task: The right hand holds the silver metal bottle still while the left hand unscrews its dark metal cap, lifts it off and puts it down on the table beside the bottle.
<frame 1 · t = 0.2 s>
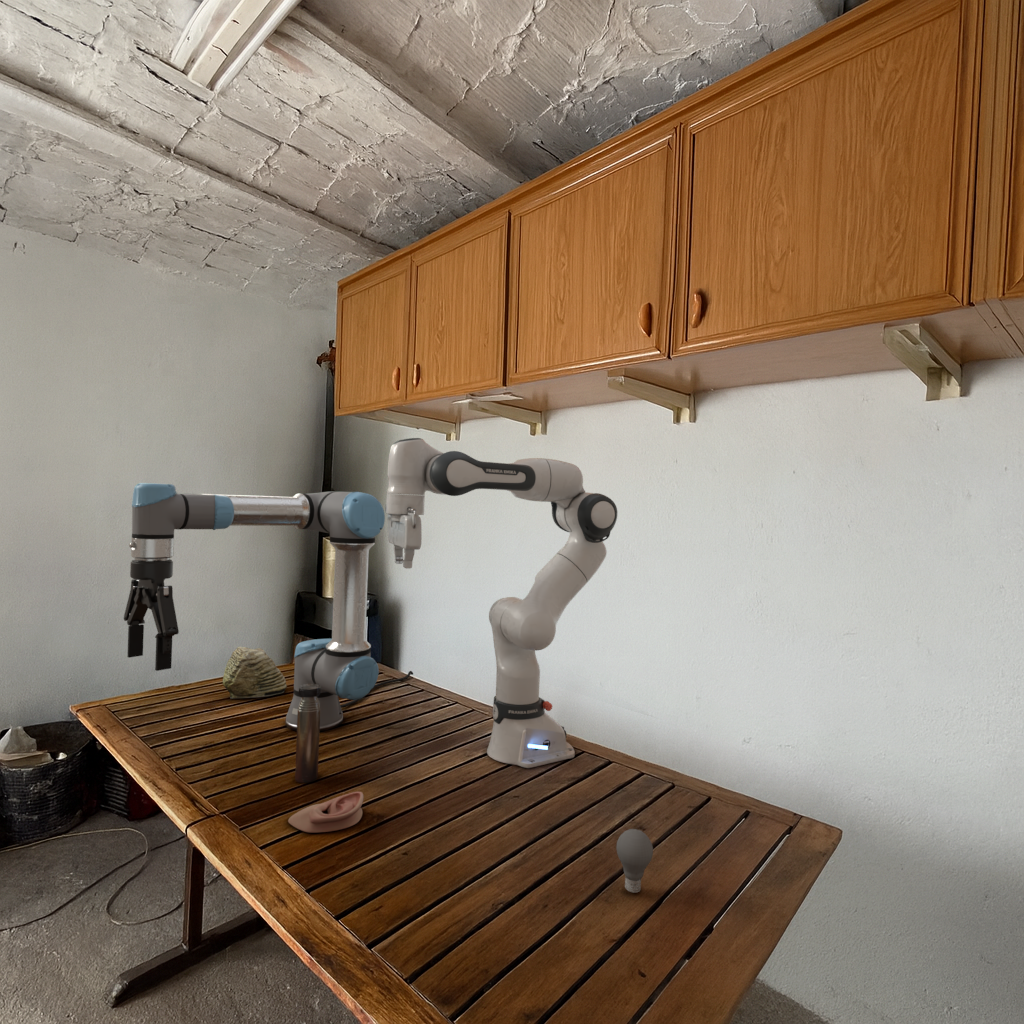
left hand: (148, 662, 129), 28 cm above the table, tool pointing down, fingers open, 13 cm apart
right hand: (403, 565, 149), 48 cm above the table, tool pointing down, fingers open, 8 cm apart
anatomical model: (326, 819, 125), on the table
bottle: (306, 778, 142), on the table
cap: (309, 687, 142), point 20 cm above the table, screwed on, not yet turned
fossil: (254, 694, 198), on the table
light bulb: (632, 891, 106), on the table
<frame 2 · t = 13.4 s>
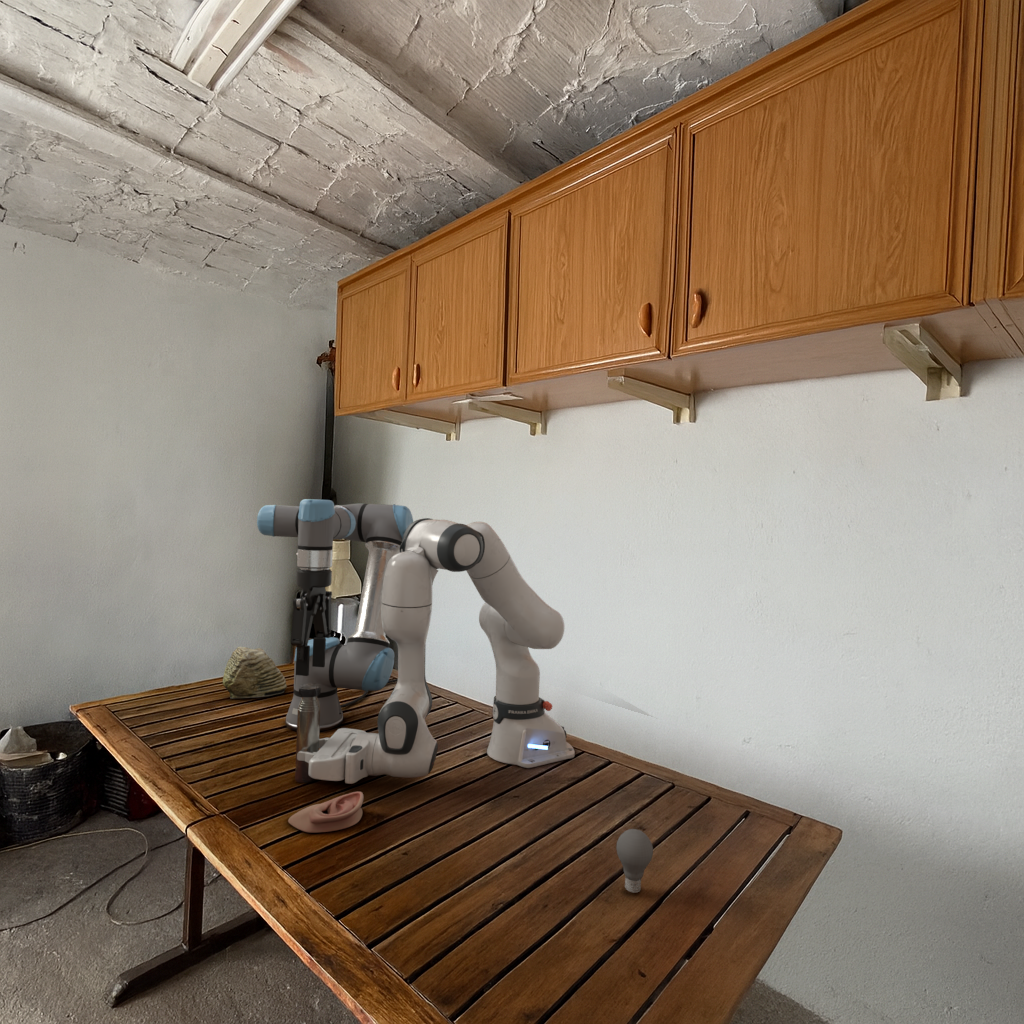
left hand: (310, 670, 142), 24 cm above the table, tool pointing down, fingers open, 7 cm apart
right hand: (303, 749, 142), 6 cm above the table, tool horizontal, fingers closed on bottle, 5 cm apart
bottle: (306, 778, 142), on the table, touching right hand
everything else where it was.
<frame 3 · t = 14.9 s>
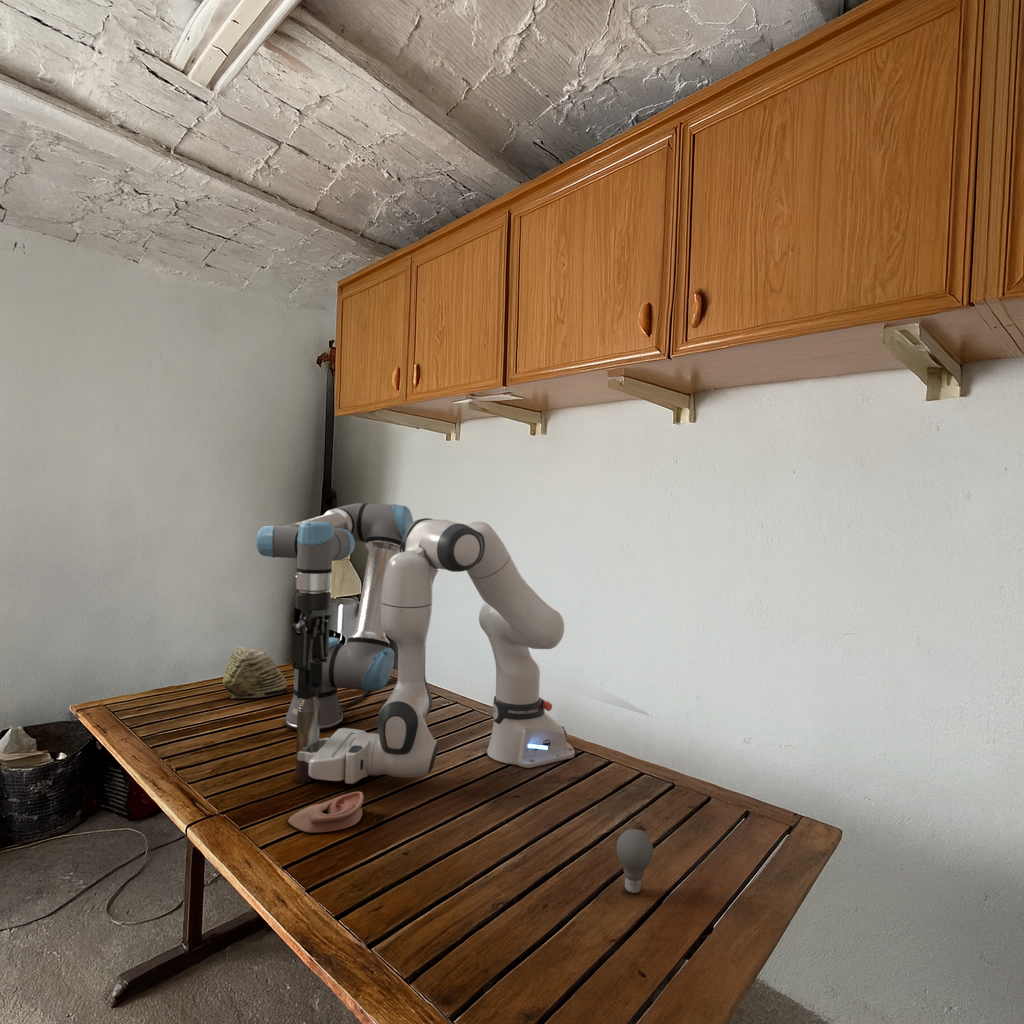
left hand: (309, 694, 142), 19 cm above the table, tool pointing down, fingers closed on cap, 4 cm apart
right hand: (303, 749, 142), 6 cm above the table, tool horizontal, fingers closed on bottle, 5 cm apart
bottle: (306, 778, 142), on the table, touching right hand
cap: (309, 687, 142), point 20 cm above the table, screwed on, not yet turned, touching left hand
everything else where it was.
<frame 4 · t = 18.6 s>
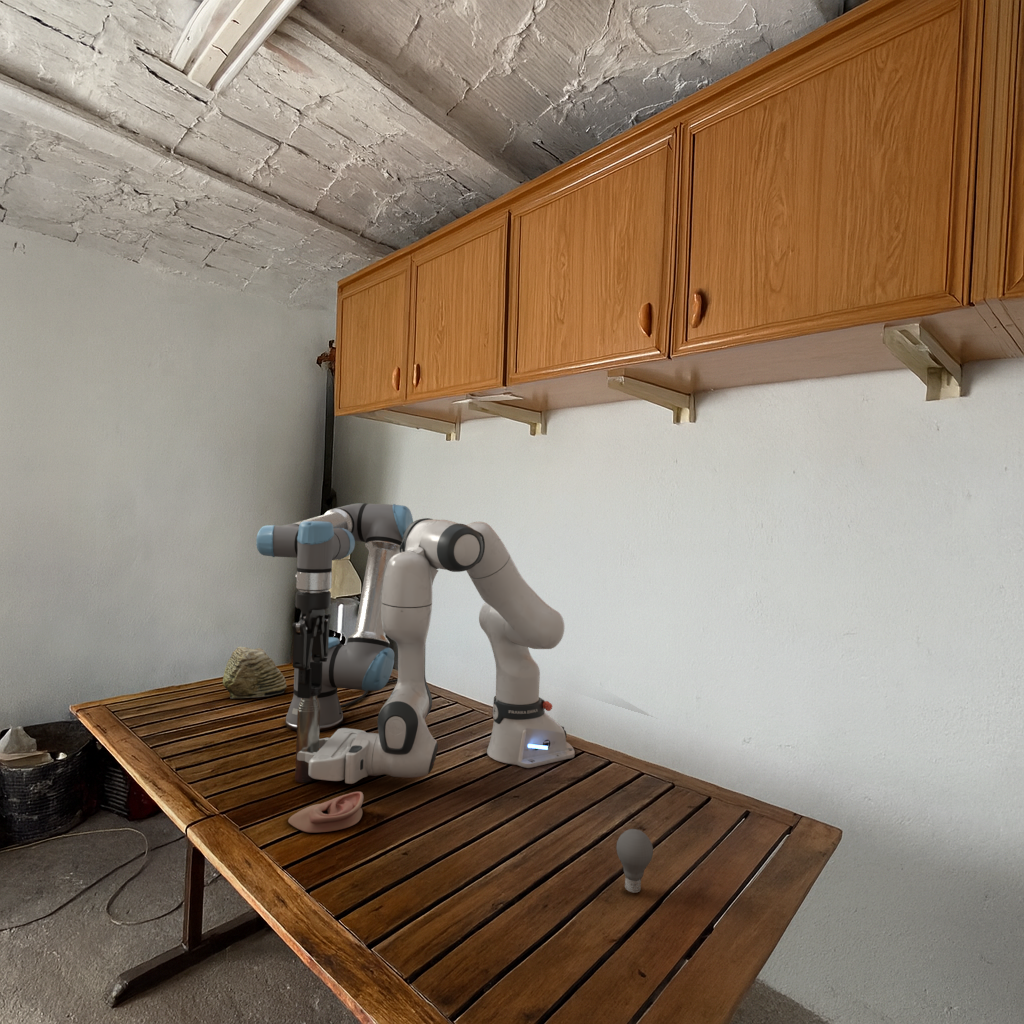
left hand: (309, 693, 142), 19 cm above the table, tool pointing down, fingers closed on cap, 4 cm apart
right hand: (303, 749, 142), 6 cm above the table, tool horizontal, fingers closed on bottle, 5 cm apart
bottle: (306, 778, 142), on the table, touching right hand
cap: (309, 687, 142), point 21 cm above the table, turned 109° so far, risen 0.1 cm, still on its thread, touching left hand
everything else where it was.
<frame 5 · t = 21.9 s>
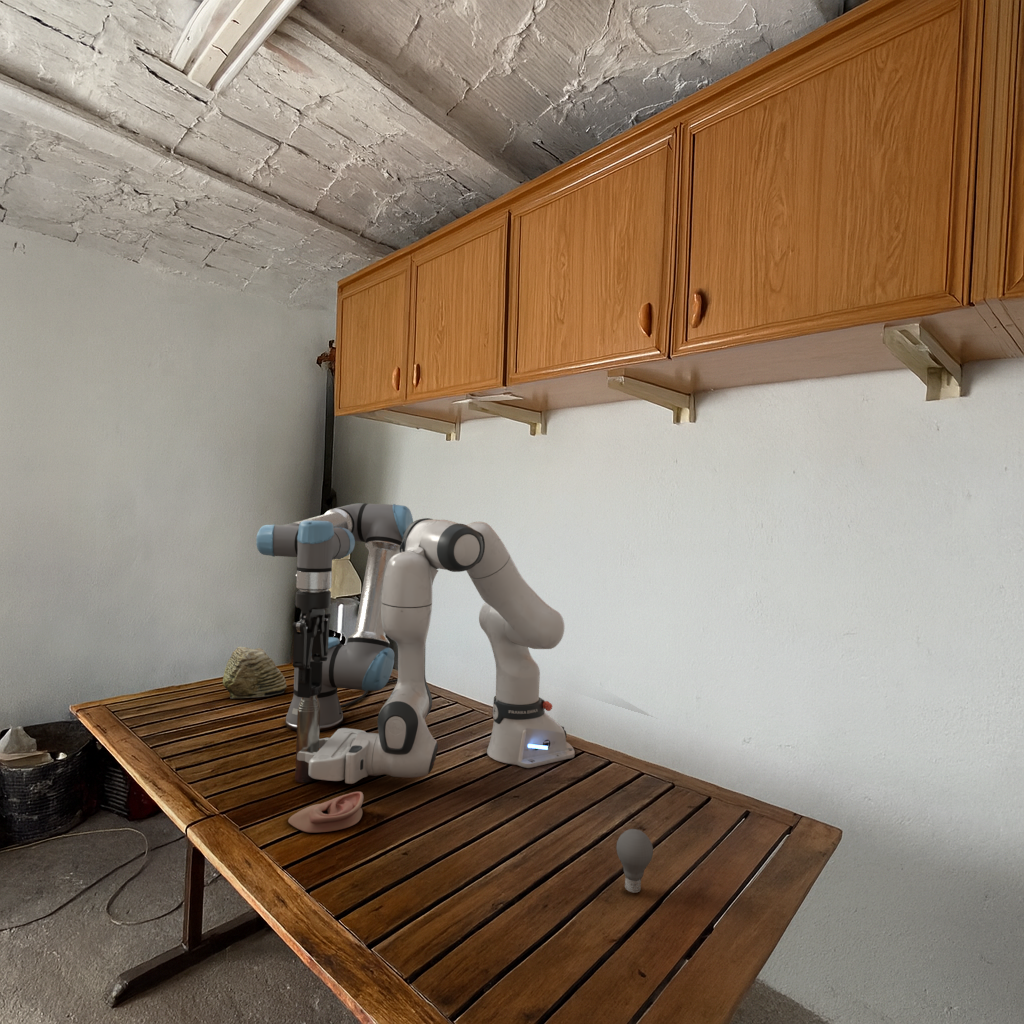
left hand: (309, 693, 142), 19 cm above the table, tool pointing down, fingers closed on cap, 4 cm apart
right hand: (303, 749, 142), 6 cm above the table, tool horizontal, fingers closed on bottle, 5 cm apart
bottle: (306, 778, 142), on the table, touching right hand
cap: (309, 686, 142), point 21 cm above the table, turned 218° so far, risen 0.3 cm, still on its thread, touching left hand
everything else where it was.
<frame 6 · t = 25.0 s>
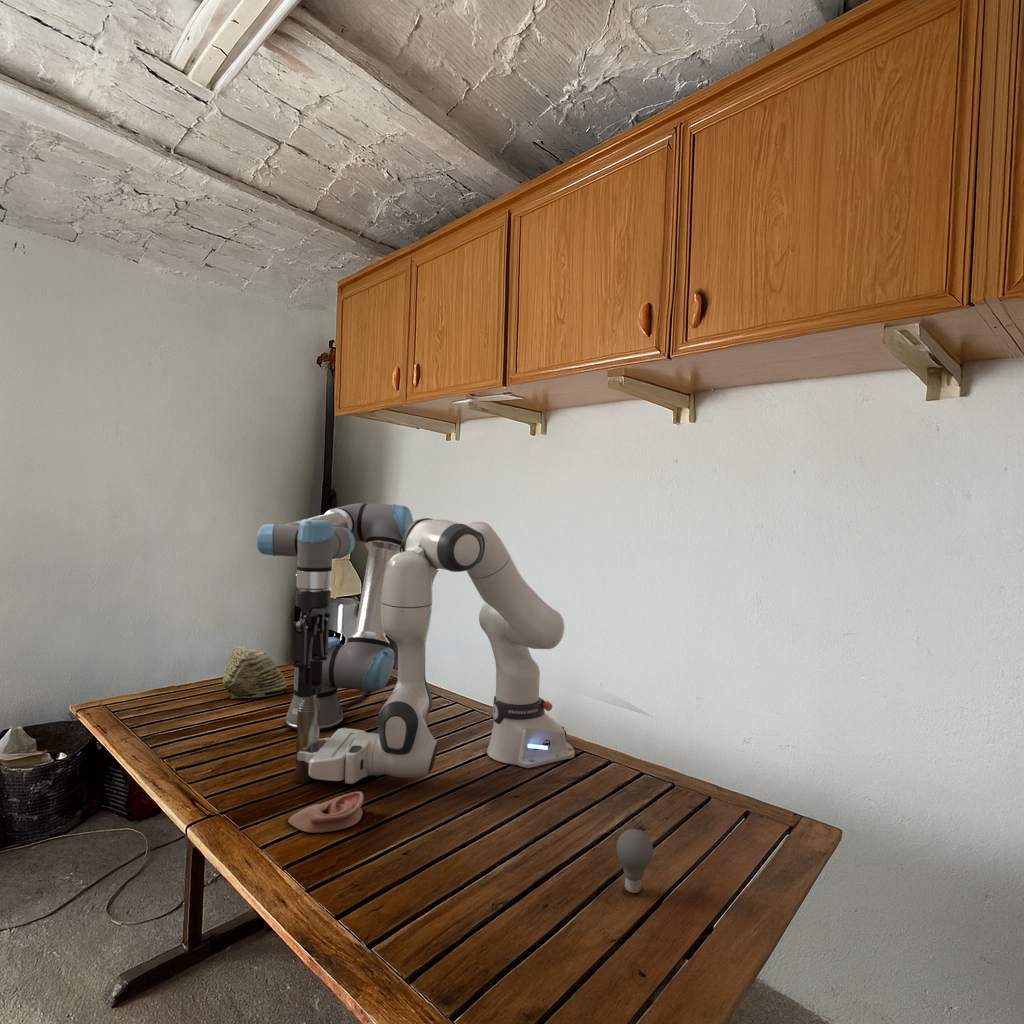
left hand: (309, 692, 142), 19 cm above the table, tool pointing down, fingers closed on cap, 4 cm apart
right hand: (303, 749, 142), 6 cm above the table, tool horizontal, fingers closed on bottle, 5 cm apart
bottle: (306, 778, 142), on the table, touching right hand
cap: (309, 686, 142), point 21 cm above the table, turned 327° so far, risen 0.4 cm, still on its thread, touching left hand
everything else where it was.
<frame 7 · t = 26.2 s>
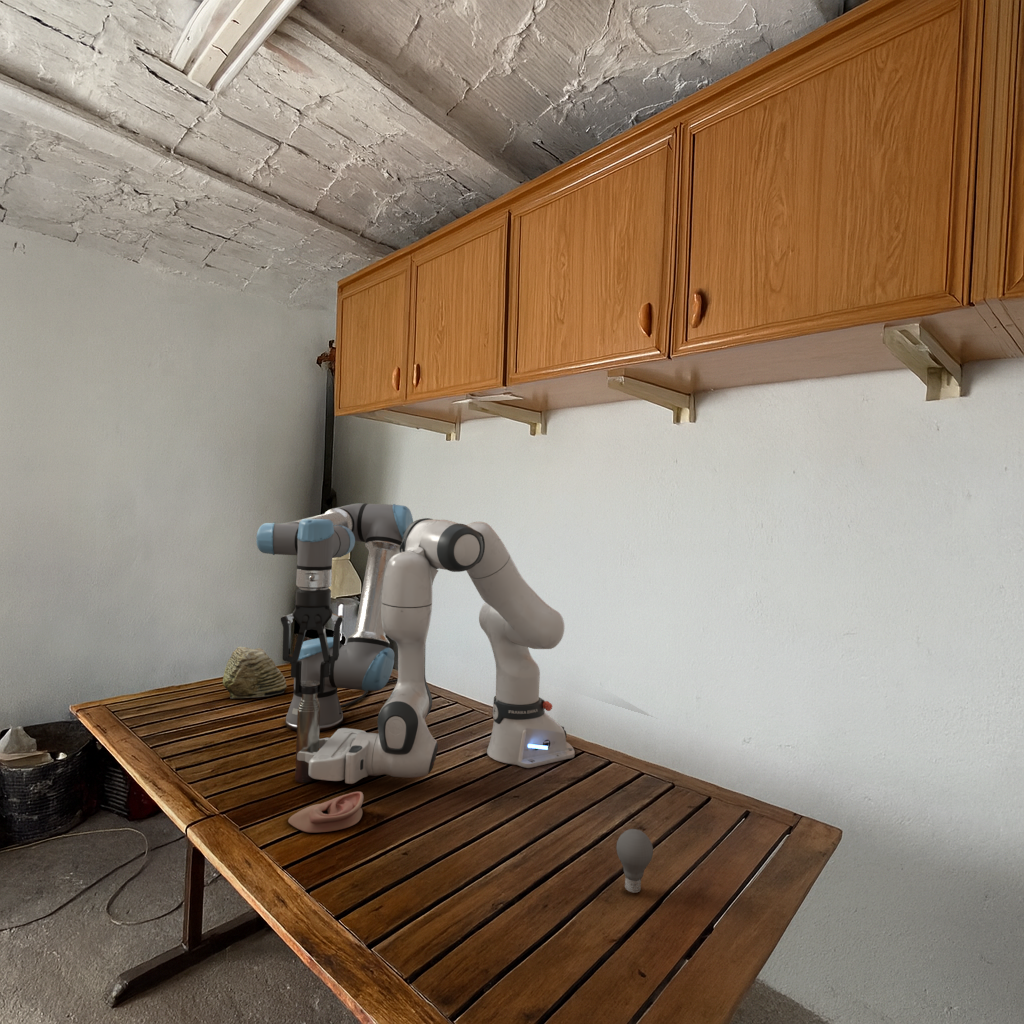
left hand: (309, 691, 142), 20 cm above the table, tool pointing down, fingers closed on cap, 4 cm apart
right hand: (303, 749, 142), 6 cm above the table, tool horizontal, fingers closed on bottle, 5 cm apart
bottle: (306, 778, 142), on the table, touching right hand
cap: (310, 684, 142), point 21 cm above the table, off its thread, touching left hand
everything else where it was.
when the left hand's fingers open (1 cm above the table, at t = 32.5 s): cap stays where it is, point 1 cm above the table.
when the right hand's fingers open (6 cm above the table, at t = 33.8 s): bottle stays where it is, on the table.
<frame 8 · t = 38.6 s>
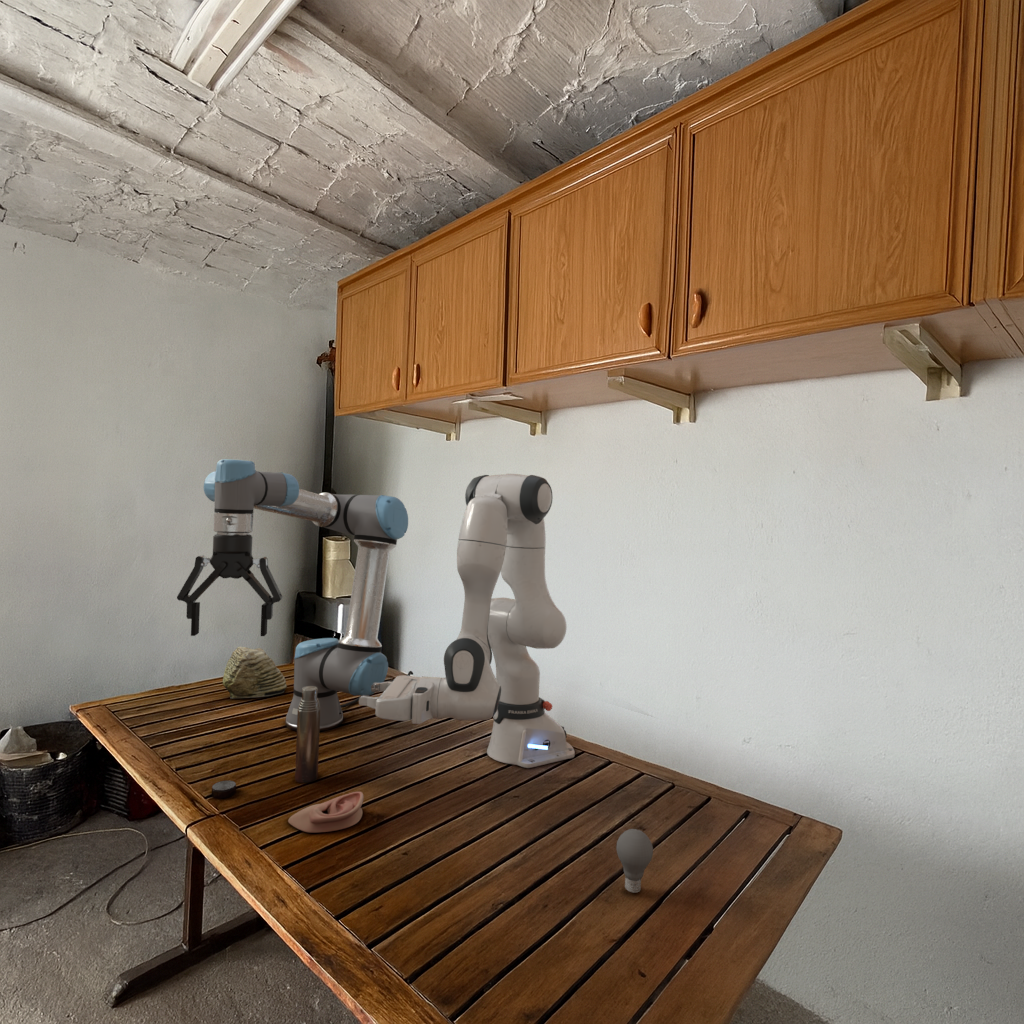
left hand: (229, 634, 133), 34 cm above the table, tool pointing down, fingers open, 13 cm apart
right hand: (366, 693, 141), 20 cm above the table, tool horizontal, fingers open, 8 cm apart
bottle: (306, 778, 142), on the table
cap: (224, 786, 133), point 1 cm above the table, off its thread
everything else where it was.
at the end: cap came off its thread; cap point 1.5 cm above the table; the left hand is holding nothing; the right hand is holding nothing; bottle tilted 0°; bottle moved 0.0 cm from its start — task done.
